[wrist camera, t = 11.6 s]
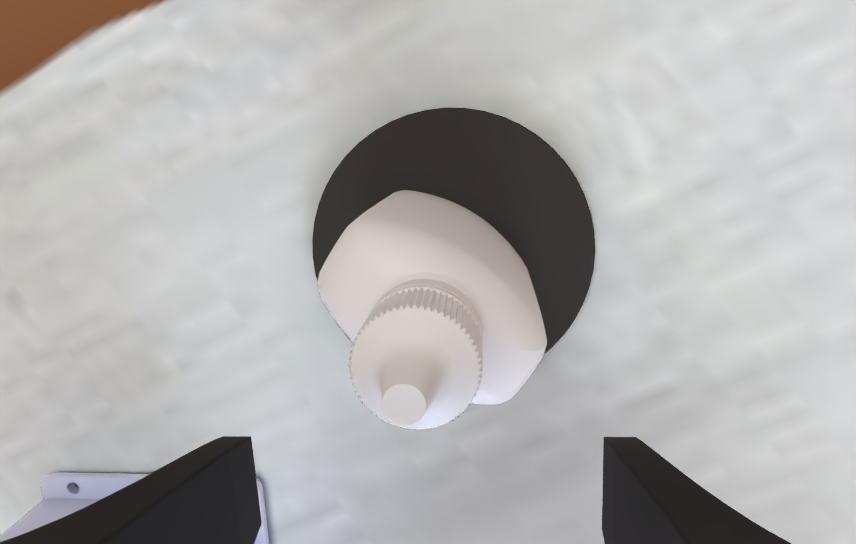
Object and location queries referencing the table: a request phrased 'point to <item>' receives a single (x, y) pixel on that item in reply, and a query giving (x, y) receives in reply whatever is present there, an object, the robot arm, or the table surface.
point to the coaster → (476, 195)
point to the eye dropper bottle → (431, 310)
